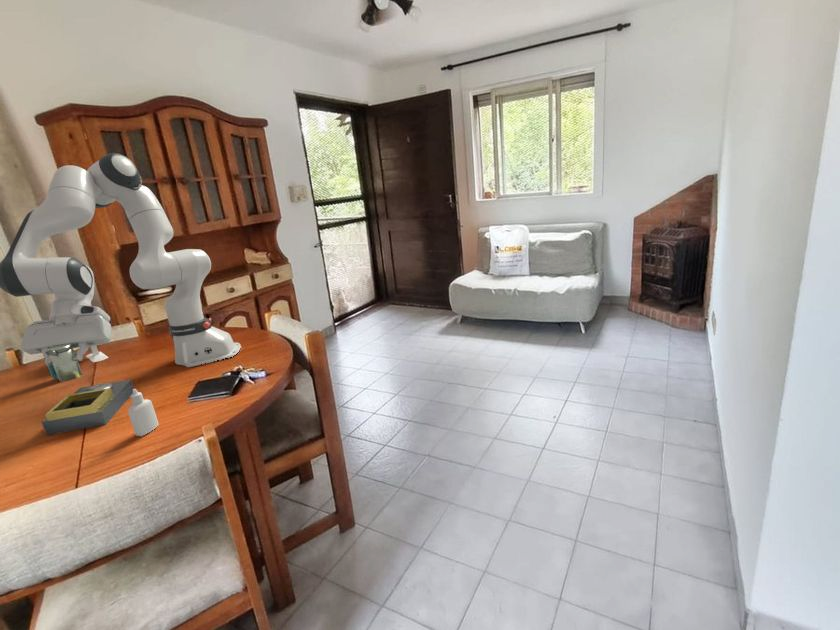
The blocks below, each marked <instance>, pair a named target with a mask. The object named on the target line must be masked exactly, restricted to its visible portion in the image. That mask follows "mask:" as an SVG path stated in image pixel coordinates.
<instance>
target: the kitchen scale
mask: <svg viewBox="0 0 840 630" xmlns="http://www.w3.org/2000/svg"><path fill="white" fill-rule="evenodd" d="M133 389H135V387H134V384H133V381H132V379H127V380H121V381H120V380H119V381H113V382H104V383H99V384H96V385H91V386H84V387H80V388H78V389H77V390H76V391H75V392H74V393H71V394H67V395H65V397H63V398H62V399H61V400H60V401H59V402H58V403H56V404H55V405H54V406H53V407H51V409H50V410H48V411H47V412H46V413H45V418H44V419H43V420H42V421H41V425H42V427H43V429H44V432H45V434H46V435H47V436H49V435H50V436H51V435H55V434H62V433H66V432H72V431H77V430H83V429H84V430H85V429H90V428H94V427H100V426H105V425H107V424H108V423H109V422H110V420H111V419H112V418H113V417H114V416H115V415H116V413H117V412H118V411H119V410H120V409H121V407H122V406H123V405H124V404H126V402H127V401H128V399H130V398H131V397H130V396H131V395H132V394H133Z"/></svg>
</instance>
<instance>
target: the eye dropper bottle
mask: <svg viewBox="0 0 840 630" xmlns="http://www.w3.org/2000/svg"><path fill="white" fill-rule="evenodd" d="M129 398H130V400H131V402H132V404H131V405H130V407H129V408H128V416H129V419H130V422H131V423H130V424H131V426H132V429H133V431H134V434H135V437H144V436H143V435H145V434H147V433H149V432H150V433H152V432H153V431H155V430H156V429H157V428H158V427H159V421H158V417H157V414H156V412H155V411H156V410H155V408H154V404H153V403H152V400H151V399H147V398H146V399H144V397H143V393H142V392H140V391H138V390H137V389H136V388H134V389H133V394H132V395H131V396H130V397H129ZM157 426H158V427H157ZM156 427H157V428H156ZM155 428H156V429H155ZM154 429H155V430H154ZM152 430H153V431H152ZM151 431H152V432H151ZM150 433H149V434H150ZM147 435H148V434H147ZM145 436H146V435H145Z"/></svg>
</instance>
